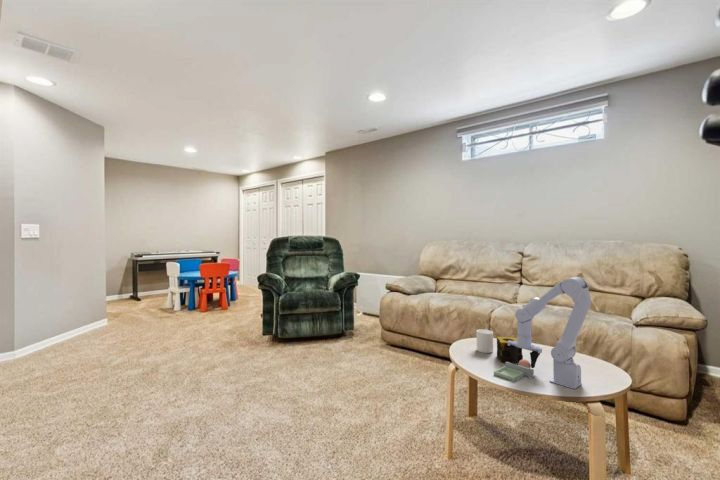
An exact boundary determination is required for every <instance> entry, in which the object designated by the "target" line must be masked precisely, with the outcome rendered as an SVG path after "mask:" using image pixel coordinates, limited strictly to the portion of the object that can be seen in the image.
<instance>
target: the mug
mask: <svg viewBox="0 0 720 480" xmlns="http://www.w3.org/2000/svg"><path fill="white" fill-rule="evenodd" d="M476 350H477V351H478V352H479V353H482V354H491V353H493V352H494V331H492V330H490V329H485V328H484V329H483V328H482V329H476Z"/></svg>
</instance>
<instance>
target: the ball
mask: <svg viewBox="0 0 720 480" xmlns="http://www.w3.org/2000/svg"><path fill="white" fill-rule="evenodd" d="M517 365H520V366H523V367H526V368H530V369H531V362H530V361H528V360H527V359H524V358H523V359H522V360H520V361H519V363H518V364H517Z"/></svg>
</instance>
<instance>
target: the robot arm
mask: <svg viewBox="0 0 720 480" xmlns="http://www.w3.org/2000/svg"><path fill="white" fill-rule="evenodd" d="M589 290H590V286H589V284H588V283H587V281H586V280H585V278H583V277H581V276H573V277H568V278H564V279H563V280H562V281H560V282H558V283H557V284H555V285H554V286H553V287H552V288H550V289H549V290H548V291H547V292H545V293H544V294H543V295H542V296H541V297H532V298H531V299H530V301H529V302H528V303H526V304H524V305H522V308H518V309H517V310H516V311H515V314H514V317H515V318H516V320H517V321H516V322H517V323H516V324H517V325H516V326H517V328H516V329H517V330H516V331H517V332H516V333H517V334H516V335H517V336H516V338H517V342H516V341H508V345H509V346H510V347H509V350H510V352H511V354H512V356H513V360H514V363H513V364H516V363H517V362H518V349H519V348H522V350H527V351H529V355H530V365H531V367H530V369H534V368H535V367H536V363H537V361H538V358H539V357H540V356H541V354H542V353H543V348H542V347H539V346H536V345H533V344H532V320H533V319H534V317H535V316H537V315H538V314H540V313H541V312H542V311H544V310H545V309H546V306H547V304H548V303H549V302H551V301H552V300H553V299H555V298H556V297H558V296H560V295H564V294H566V295H568V296H569V297H570V298H571V300H572V301H573V303H574V304H573V307H572V310H571V312H570V315H569V318H568V320H567V322H566V325H565V326H564V327H565V328H564V329H563V332H562V334H561V337H560V338H559V339H558V341H557V343H556V345H555V346H554V347H553V348H551V351H550V355H551V358H552V359H553V363H552V365H553V370H552V371H553V374H552V375H553V378H551V379H550V380H549V382H550V383H554V384H557V385H560V386H563V387H566V388H570V389H573V390H576V389H577V388H578V387H579V386H581V385H583V384H582V383H583V382H582V367H581V365H580V364H578V363H576V362H574V361H575V360H574V357H575V355H576V353H577V352H576V346H577V342H576V341H577V339H578V336H579V335H580V332H581V330H582V327H583V324H584V322H585V320H586V317H587V314H588V313H589V310H590V307H591V305H592V299H591V295H590V291H589Z"/></svg>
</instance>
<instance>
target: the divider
mask: <svg viewBox="0 0 720 480" xmlns="http://www.w3.org/2000/svg"><path fill="white" fill-rule="evenodd" d="M505 367H508V368H512V369H515V370H518V371H522V372H524V376H523V377H528V379H531V380H532V379H534V378H535V374H534V371H535V369H534V368H531V367H530V368H526V367H523V366H520V365H518V364H516V363H509V362H506V363H505Z"/></svg>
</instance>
